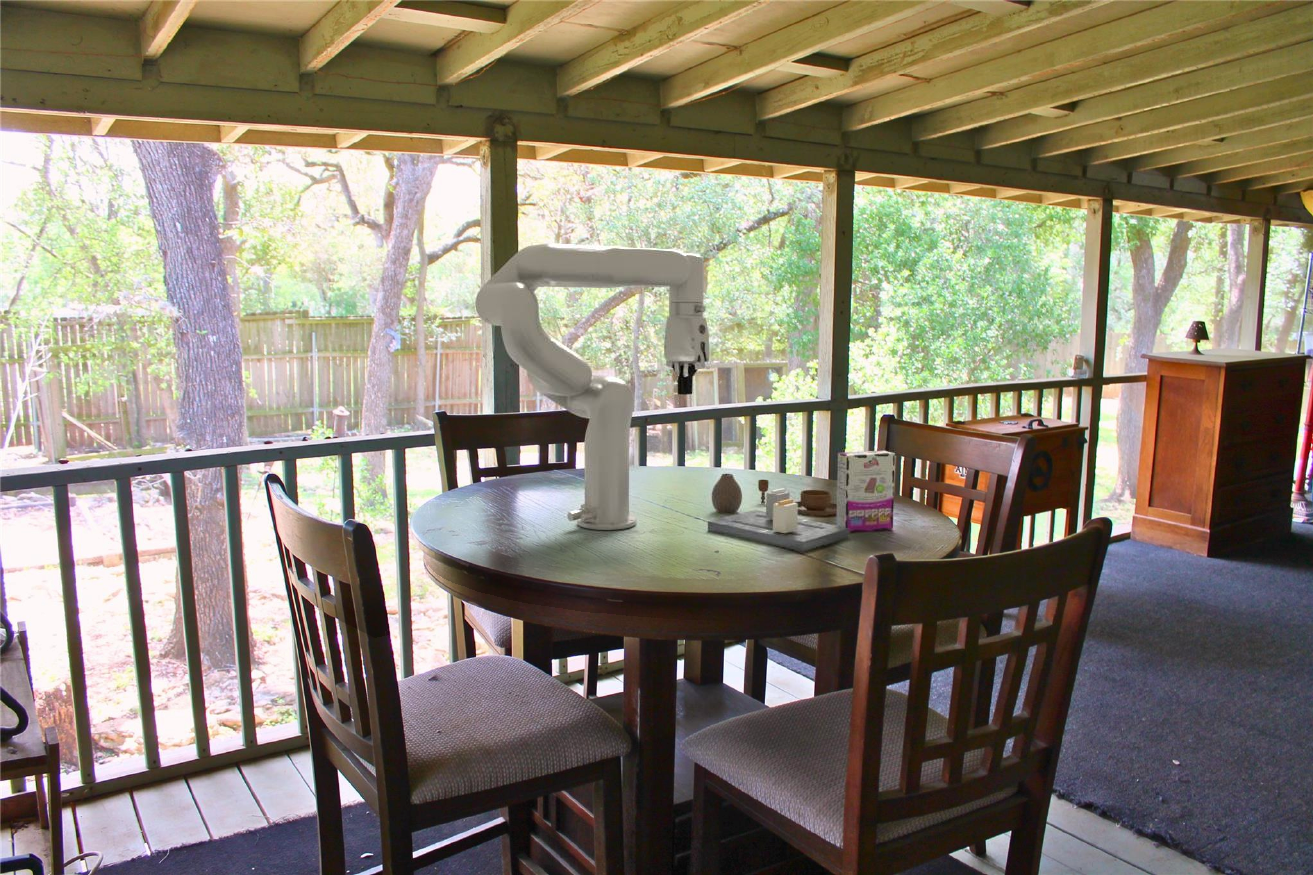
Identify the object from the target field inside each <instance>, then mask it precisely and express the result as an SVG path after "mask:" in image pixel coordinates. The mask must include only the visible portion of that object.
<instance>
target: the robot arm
mask: <svg viewBox="0 0 1313 875" xmlns="http://www.w3.org/2000/svg"><path fill="white" fill-rule="evenodd" d="M704 262H705V261H704V258H703V257H702V255H700V254H696V253H683V252H681V251H679V250H677V249H665V248H664V249H663V248H662V249H661V248H641V247H639V248H637V247H620V246H609V245H607V246H606V245H586V244H569V243H568V244H567V243H566V244H565V243H542V244H541V243H540V244H534V245H529V246H525V247H523V248H522V249H520V250H519V251H518V252H517V253H515V254H514V255H513V256H512V257H511V258H510V259H509V260H508V261H507V262H506V263H505V264H504V265H503V266H501V268H500V269H499V270H498V271H497V272H495V274H493V276H492V277H490V279H488V280H487V281H486V282H485V283H484V284H483V286H481V288H480V289H479V291H478V293H477V294H476V297H475V302H474V303H475V304H474V305H475V306H474V307H475V311H476V314H477V315H478V317H479V318H480V319H481V320H482V321H483V322H484V323H486V324H488V325H491V326H495V327H500V328H501V330H500V331H501V336H502V342H503V344H504V347H505V351H506V352H507V354H508V356H509V357H510V359H512V361H514V363H515V364H517V366H520V367H521V368H522V369H524V370H525V371H526V373H527V374H526V375H527V378H528V381H529V383H530V385H531V386H532V387H533V388H534V390H536V392H538V393H539V394H540V395H542V396H544V397H545V398H547V399H548V400H550V401H552V402H553V403H555V404H557V405H558V406H560V407H561V408H563V409H564V410H566V411H568V412H569V413H570V414H573V415H575V416H578V417H580V418H584V419H589V420H588V423H587V427H586V430H585V436H584V448H583V449H584V450H583V451H584V503H583V504H582V503H581V504H580V508H579V509H578V510H572V511H569V512H567V517H566V518H567V520H568V521H569V522H573V521H577V525H578V526H579V527H580V528H581V527H582V528H585V529H590V530H597V531H598V530H599V531H616V530H624V529H628V528H632V527H634V526H635V525H637V518H636V517H635V516H633V515H631V514H630V434H631V431H630V430H631V424H632V418H633V412H634V407H635V406H634V405H635V398H634V392H633V391H632V388H631V387H630V385H629V384H628V383H626V381H624V380H622V379H621V378H618V377H615V376H610V375H600V374H599V375H597V374H593V372H592V368H591V366H590V364H589V363H588V361H587V359H585V358H584V357H582V356H581V355H580V354H579V353H577V352H575V351H574V350H572V349H571V348H569V347H568V346H567V345H565V344H563V343H561V342H560V341H558V340H557V339H556V338H554V337H553V336H552V335H550V334H549V333H548V332H547V331H546V330H545V329H544V328H543V326H542V323H541V318H540V307H539V300H538V297H537V295H536V293H535V291H536V290H538V288H546V287H547V288H548V287H549V288H550V287H551V288H583V289H585V288H587V289H589V288H590V289H591V288H592V289H614V288H623V287H632V286H633V287H634V286H637V287H638V286H639V287H640V286H644V287H647V288H662V287H664V288H668V287H669V288H668V316H667V318H666V324H665V331H664V338H663V340H664V342H663V344H664V345H663V357H664V360H666V363H665V365H666V367H668V368H670V369H673V371H674V374H675V376H676V377H677V395H681V396H687V395H692V394H693V389H694V388H693V386H694V385H693V382H694V381H693V377H695V376H696V373H697V372H698V370H701V369H705V368H706V363H707V362H708V361H709V359H710V336H709V327H708V323H707V318H706V317H704V313H705V312H706V311H707V310H706V306H705V305H704V274H705V273H704V272H705V271H704V270H705V269H704V267H705V266H704V265H705V264H704Z"/></svg>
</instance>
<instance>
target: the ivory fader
mask: <svg viewBox="0 0 1313 875" xmlns="http://www.w3.org/2000/svg"><path fill="white" fill-rule="evenodd" d="M793 502H794V499H793V498H789V499H787V500H783V501H779V502H778V503H775V504H773V531H777V532H781V533H788V532H791V531H795V530H797V518H798V515H799V514H798V509H799V507H798V503H793Z"/></svg>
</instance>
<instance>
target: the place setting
mask: <svg viewBox="0 0 1313 875" xmlns="http://www.w3.org/2000/svg"><path fill="white" fill-rule="evenodd" d="M757 482H758V484H757V485H758V490H759V492H760V494H761V495H760V496H761V497H760V500H761V501H760V503H763V504H766V496H765V495H766V493H767V491H768V489H769V480H768V479H758V481H757ZM793 503H798V514H797V515H801V514H802V516H808V515H814V516H813V517H828V516H827V515H831V516H837V502H836V503H835V502H832V493H831V492H830V491H827V490H823V489H822V490H820V489H806V490H802V491H800V500H799V501H793ZM800 506H803V508H804V509H801V507H800ZM832 508H833V509H832ZM826 509H832V510H826Z"/></svg>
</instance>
